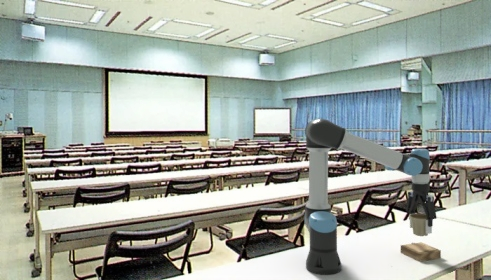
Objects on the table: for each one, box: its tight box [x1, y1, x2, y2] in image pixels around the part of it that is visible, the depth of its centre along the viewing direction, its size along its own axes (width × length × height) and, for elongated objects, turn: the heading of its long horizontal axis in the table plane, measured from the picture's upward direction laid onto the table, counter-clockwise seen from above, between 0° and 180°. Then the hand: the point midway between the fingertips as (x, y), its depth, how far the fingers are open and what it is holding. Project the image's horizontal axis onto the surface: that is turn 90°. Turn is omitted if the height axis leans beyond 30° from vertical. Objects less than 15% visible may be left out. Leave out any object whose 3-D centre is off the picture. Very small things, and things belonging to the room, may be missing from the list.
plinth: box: [400, 242, 442, 262], centre depth 177 cm, size 12×12×4 cm
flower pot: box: [410, 213, 430, 237], centre depth 176 cm, size 9×9×9 cm
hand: (420, 230), depth 176 cm, fingers closed on flower pot, 9 cm apart
